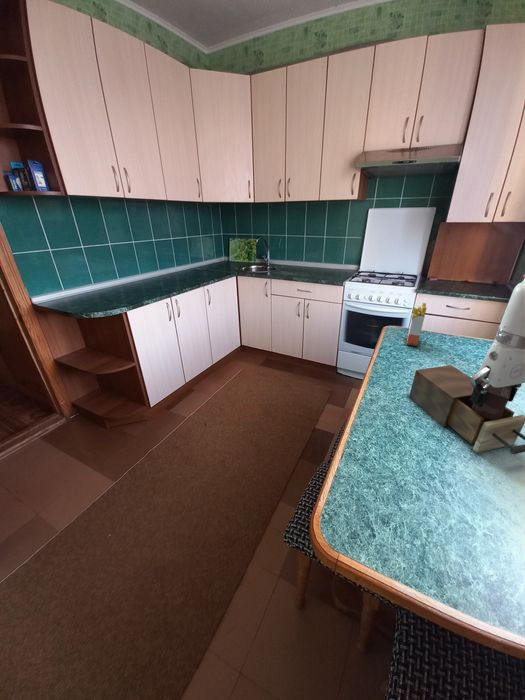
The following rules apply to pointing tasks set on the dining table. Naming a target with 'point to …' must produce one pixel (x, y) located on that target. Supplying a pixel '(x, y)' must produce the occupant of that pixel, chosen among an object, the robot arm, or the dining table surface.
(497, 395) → the box
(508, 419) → the drawer
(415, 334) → the french fries container
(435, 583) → the dining table surface
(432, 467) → the dining table surface
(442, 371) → the cabinet
